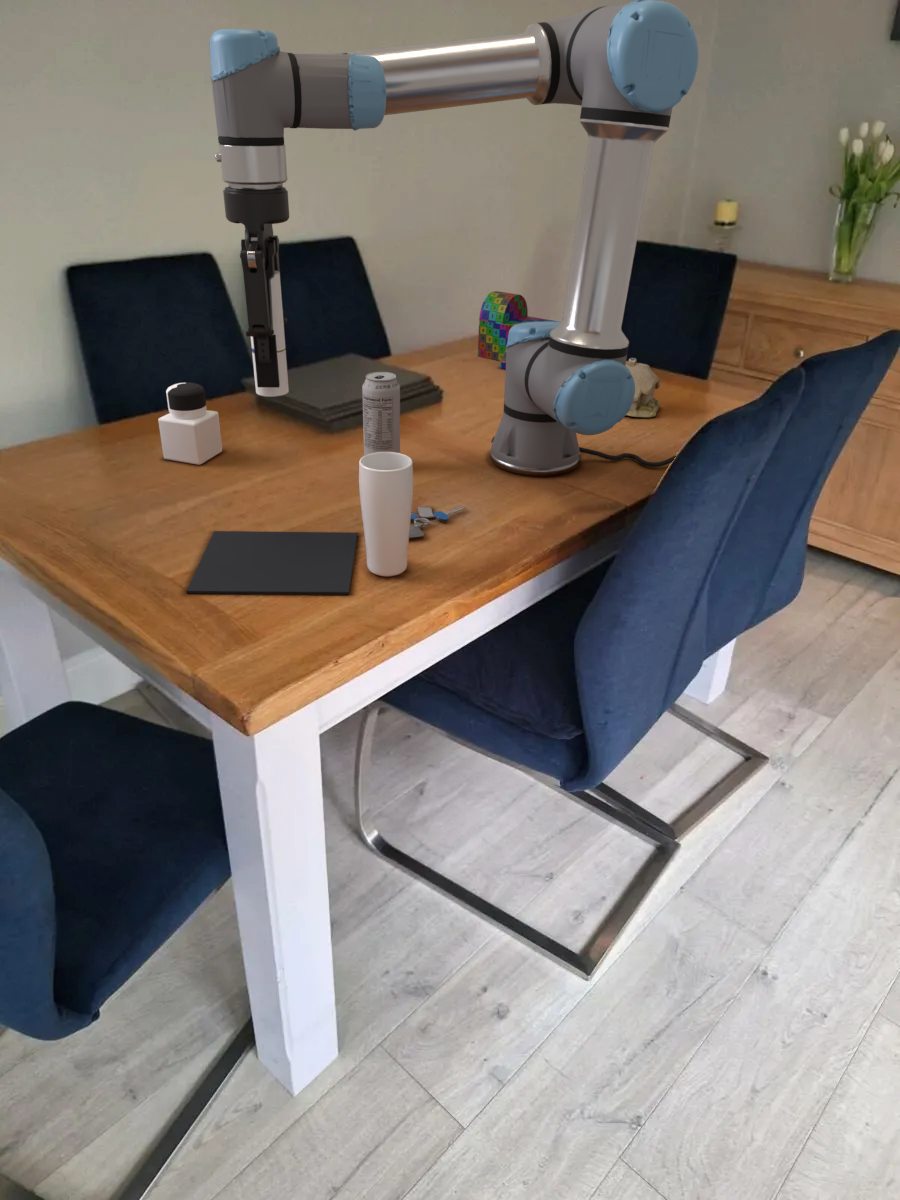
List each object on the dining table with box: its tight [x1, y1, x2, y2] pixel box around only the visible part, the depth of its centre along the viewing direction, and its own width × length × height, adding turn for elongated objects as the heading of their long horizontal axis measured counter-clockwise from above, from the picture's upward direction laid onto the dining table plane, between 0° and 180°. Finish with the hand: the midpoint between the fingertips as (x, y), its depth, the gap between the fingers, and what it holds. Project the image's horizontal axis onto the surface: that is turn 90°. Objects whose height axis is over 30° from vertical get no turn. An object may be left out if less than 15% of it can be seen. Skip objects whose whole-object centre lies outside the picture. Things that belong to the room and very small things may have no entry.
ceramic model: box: [625, 357, 661, 418], centre depth 175 cm, size 14×11×10 cm
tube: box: [250, 270, 290, 398], centre depth 112 cm, size 4×4×15 cm
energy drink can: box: [361, 371, 401, 456], centre depth 143 cm, size 6×6×15 cm
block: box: [477, 290, 560, 370], centre depth 202 cm, size 25×17×14 cm
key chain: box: [409, 505, 467, 539], centre depth 128 cm, size 14×8×1 cm, turn 148°
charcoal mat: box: [185, 530, 358, 596], centre depth 116 cm, size 20×17×1 cm
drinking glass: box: [358, 452, 414, 577], centre depth 111 cm, size 7×7×15 cm
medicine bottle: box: [157, 382, 223, 466], centre depth 145 cm, size 7×7×12 cm
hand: (271, 380), depth 115 cm, fingers closed on tube, 4 cm apart
